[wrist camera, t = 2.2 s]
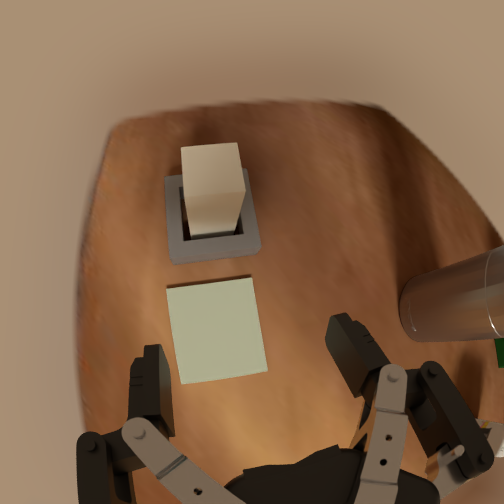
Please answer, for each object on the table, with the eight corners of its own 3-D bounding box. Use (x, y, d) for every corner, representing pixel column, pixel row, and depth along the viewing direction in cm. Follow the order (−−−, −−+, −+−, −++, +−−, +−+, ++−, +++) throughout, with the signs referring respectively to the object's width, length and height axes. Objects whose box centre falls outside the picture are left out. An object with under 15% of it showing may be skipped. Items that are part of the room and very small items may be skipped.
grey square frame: (243, 181, 33) (246, 168, 30) (256, 254, 31) (261, 246, 28) (167, 189, 31) (164, 176, 28) (173, 264, 29) (169, 258, 26)
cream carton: (227, 200, 32) (237, 142, 21) (232, 237, 31) (245, 190, 20) (188, 204, 31) (181, 147, 20) (191, 242, 30) (184, 197, 19)
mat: (251, 278, 30) (251, 277, 29) (267, 370, 28) (267, 370, 27) (166, 289, 28) (166, 288, 28) (181, 383, 26) (181, 384, 25)
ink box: (478, 419, 29) (526, 426, 18) (467, 445, 27) (514, 456, 16) (456, 413, 29) (511, 423, 18) (443, 442, 27) (496, 457, 16)
